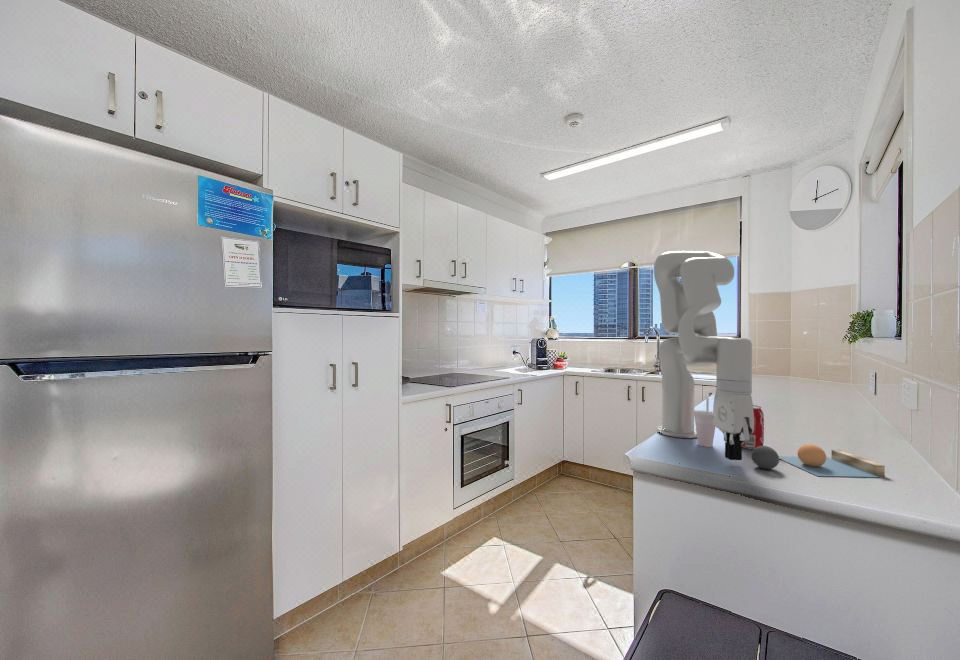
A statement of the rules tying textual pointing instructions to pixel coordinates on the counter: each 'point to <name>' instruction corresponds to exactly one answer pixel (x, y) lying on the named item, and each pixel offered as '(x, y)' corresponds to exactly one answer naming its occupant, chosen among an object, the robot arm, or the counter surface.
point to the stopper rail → (859, 462)
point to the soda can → (756, 430)
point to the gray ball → (765, 457)
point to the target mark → (829, 468)
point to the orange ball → (811, 455)
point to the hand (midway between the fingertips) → (733, 458)
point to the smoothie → (704, 426)
